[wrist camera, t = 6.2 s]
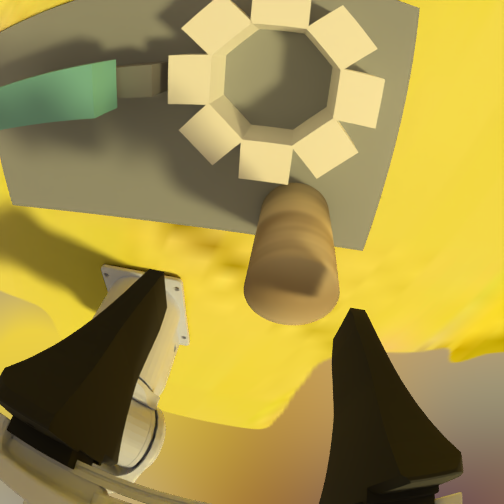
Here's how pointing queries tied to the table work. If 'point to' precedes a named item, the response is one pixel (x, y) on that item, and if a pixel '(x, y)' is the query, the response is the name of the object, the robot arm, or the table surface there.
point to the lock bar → (60, 95)
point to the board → (151, 126)
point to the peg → (293, 258)
